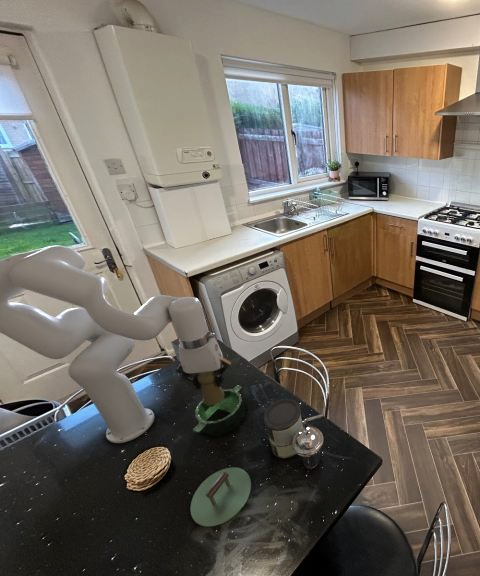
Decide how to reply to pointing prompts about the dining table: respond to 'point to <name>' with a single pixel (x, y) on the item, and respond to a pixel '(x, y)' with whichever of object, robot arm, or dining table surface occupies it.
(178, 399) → the dining table surface
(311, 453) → the cup with straw
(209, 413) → the pot
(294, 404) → the coffee can
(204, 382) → the cork
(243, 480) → the lid
